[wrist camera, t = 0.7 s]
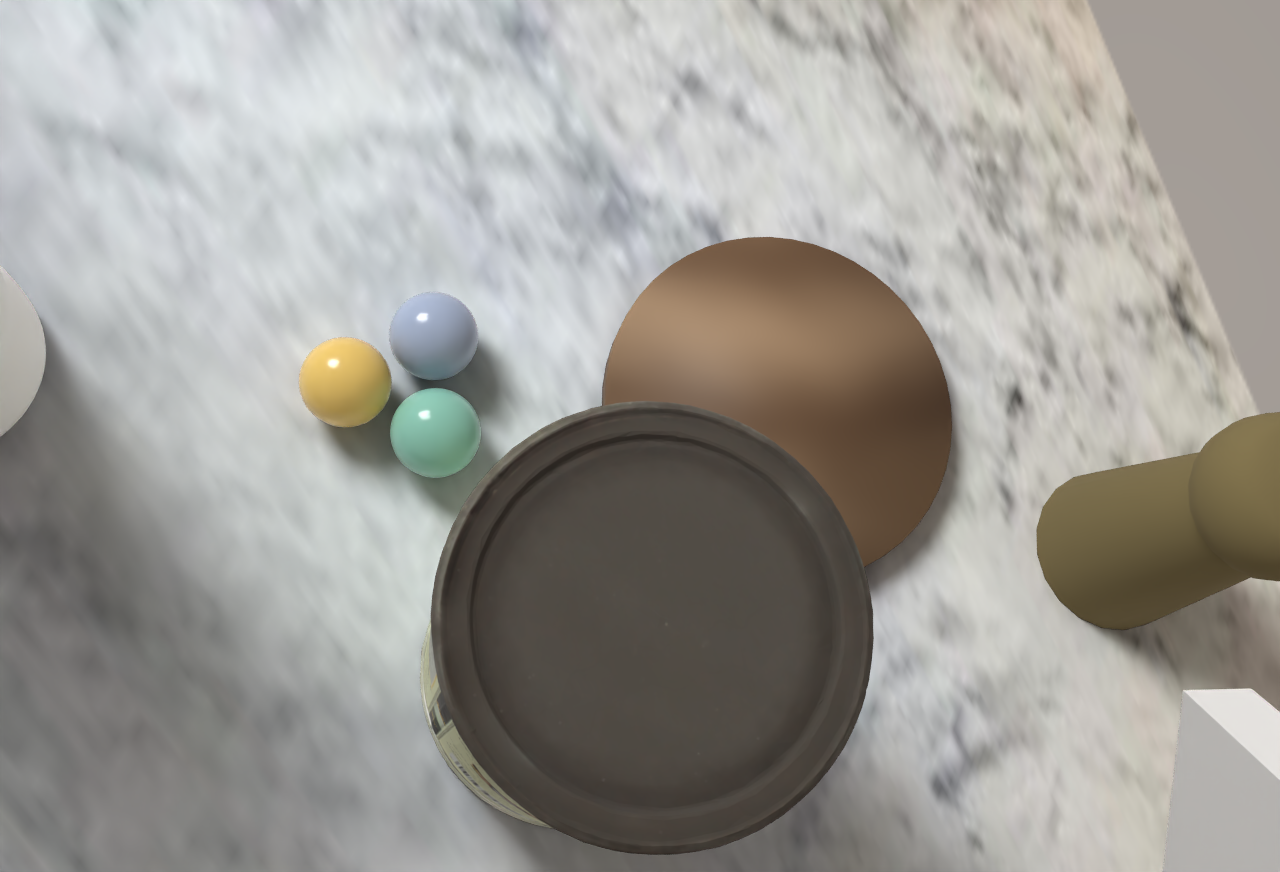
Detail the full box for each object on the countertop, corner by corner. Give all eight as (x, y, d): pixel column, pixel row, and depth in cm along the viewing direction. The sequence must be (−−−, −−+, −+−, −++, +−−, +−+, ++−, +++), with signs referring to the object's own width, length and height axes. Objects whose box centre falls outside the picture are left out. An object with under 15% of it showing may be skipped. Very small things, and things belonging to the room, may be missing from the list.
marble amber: (297, 359, 42) (290, 328, 39) (385, 350, 42) (385, 319, 40) (307, 442, 41) (301, 417, 38) (396, 431, 42) (397, 406, 39)
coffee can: (739, 550, 43) (897, 449, 30) (696, 852, 40) (850, 891, 27) (453, 490, 42) (483, 356, 28) (385, 800, 38) (384, 812, 25)
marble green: (384, 408, 42) (384, 381, 39) (471, 398, 43) (476, 371, 40) (396, 491, 41) (396, 471, 38) (483, 480, 42) (490, 459, 39)
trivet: (574, 263, 45) (578, 252, 44) (896, 234, 48) (907, 223, 47) (636, 612, 42) (642, 608, 41) (976, 557, 45) (988, 553, 44)
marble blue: (384, 315, 43) (383, 282, 40) (468, 307, 43) (474, 274, 41) (394, 395, 42) (395, 368, 39) (481, 386, 43) (487, 358, 40)
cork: (1187, 495, 47) (1413, 416, 37) (1174, 647, 45) (1408, 609, 35) (1045, 454, 46) (1235, 362, 36) (1026, 607, 45) (1220, 556, 34)
